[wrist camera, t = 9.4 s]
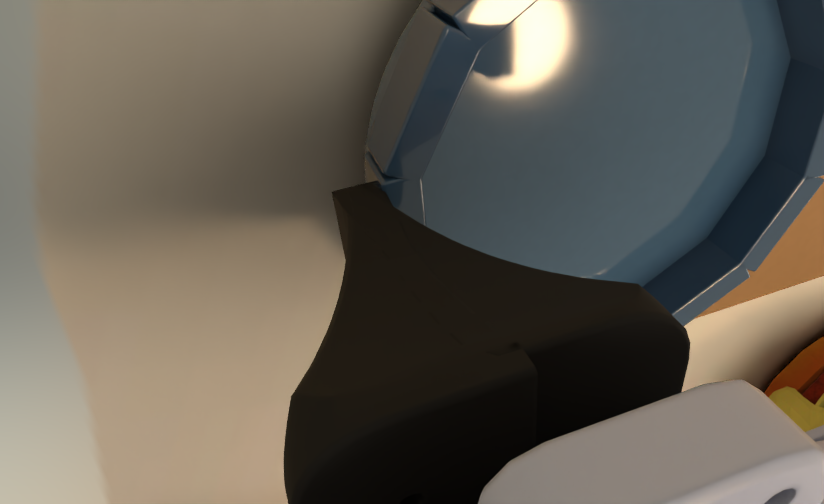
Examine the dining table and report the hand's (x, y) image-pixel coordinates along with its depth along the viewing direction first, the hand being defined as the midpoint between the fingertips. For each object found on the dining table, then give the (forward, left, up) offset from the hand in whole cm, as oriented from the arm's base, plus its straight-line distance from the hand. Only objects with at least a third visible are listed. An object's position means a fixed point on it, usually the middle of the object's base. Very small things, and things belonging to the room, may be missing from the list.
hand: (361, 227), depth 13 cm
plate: (+6, 0, -2) cm, 6 cm away
